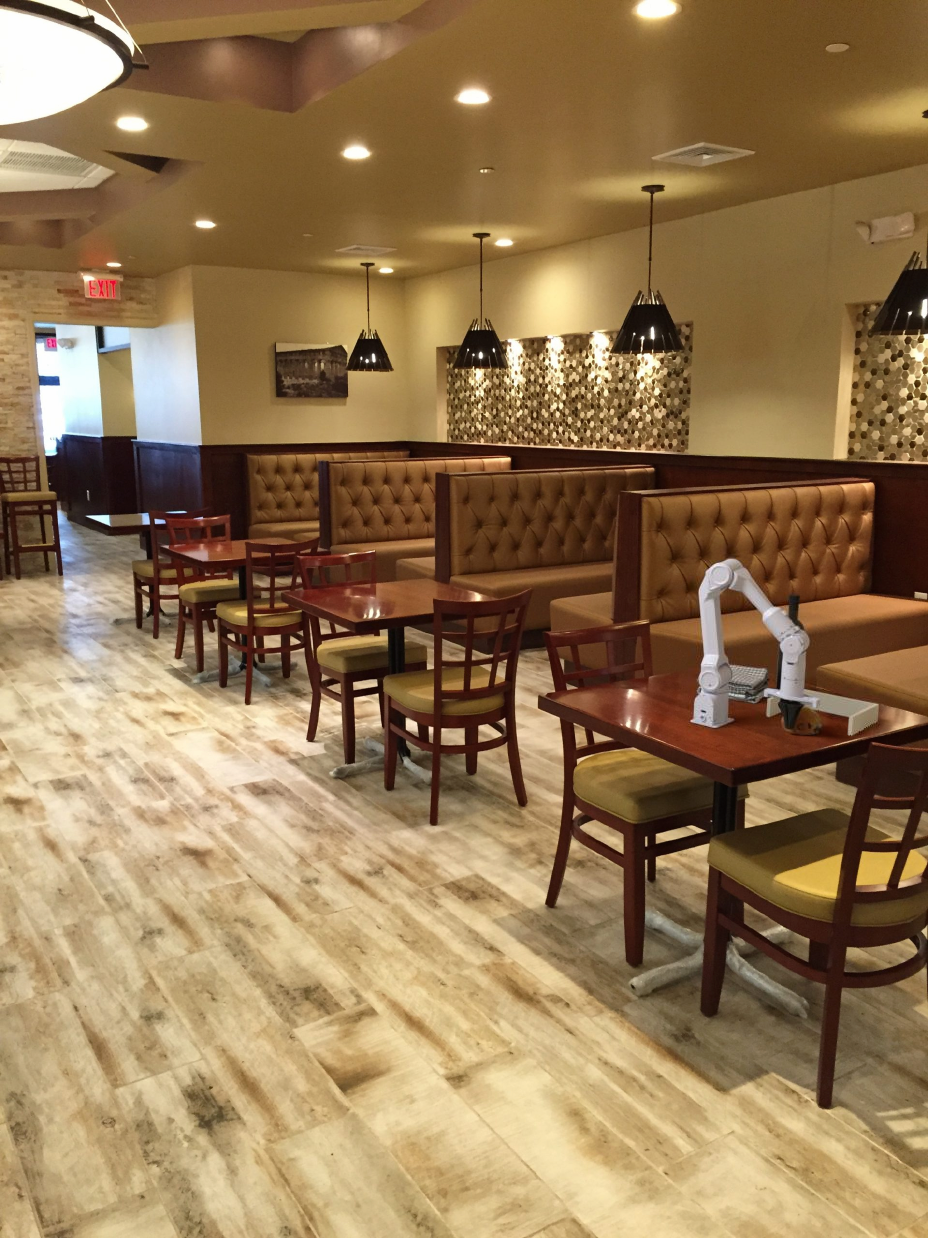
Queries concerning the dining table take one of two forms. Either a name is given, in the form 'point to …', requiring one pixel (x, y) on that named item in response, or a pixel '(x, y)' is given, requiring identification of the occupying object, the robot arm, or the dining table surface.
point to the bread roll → (805, 722)
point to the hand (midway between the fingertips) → (789, 728)
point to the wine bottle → (794, 618)
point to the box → (838, 709)
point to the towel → (746, 683)
